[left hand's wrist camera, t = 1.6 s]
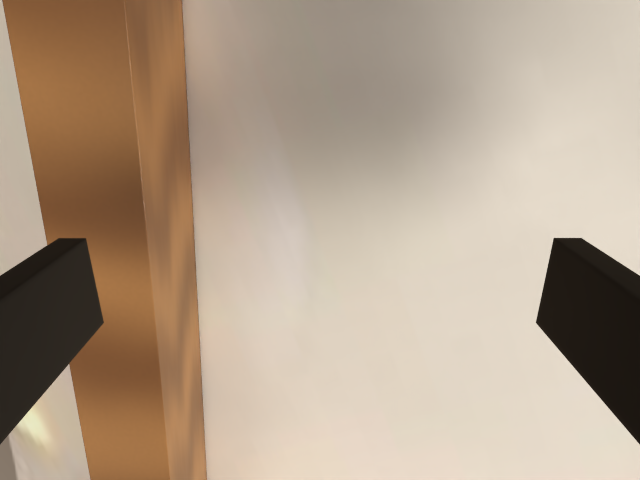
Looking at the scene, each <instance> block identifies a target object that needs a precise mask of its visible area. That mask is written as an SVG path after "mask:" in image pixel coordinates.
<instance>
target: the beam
mask: <svg viewBox="0 0 640 480" xmlns="http://www.w3.org/2000/svg"><path fill="white" fill-rule="evenodd" d="M2 1H3V6H4V12H5V17H6V22H7V28H8V33H9V39H10V44H11V50H12V55H13V60H14V66H15V71H16V77H17V82H18V88H19V93H20V99H21V104H22V109H23V115H24V120H25V126H26V131H27V137H28V142H29V147H30V153H31V158H32V164H33V169H34V175H35V180H36V185H37V191H38V196H39V202H40V207H41V213H42V218H43V223H44V229H45V234H46V240H47V245H49V244H50V243H52V242H54V241H55V240H57V239H58V238H86V240H87V245H88V250H89V254H90V259H91V264H92V268H93V273H94V278H95V283H96V287H97V292H98V297H99V302H100V306H101V311H102V316H103V321H104V323H103V324H102V326H101V327H100V328H99V329H98V330H97V331H96V333H95V334H94V335H93V336H92V337H91V338H90V340H89V341H88V342H87V343H86V344H85V346H84V347H83V348H82V349H81V350H80V351H79V353H78V354H77V355H76V356H75V357H74V358H73V360H72V361H71V362H70V363H69V365H70V370H71V376H72V381H73V386H74V392H75V397H76V403H77V408H78V414H79V419H80V424H81V430H82V435H83V441H84V446H85V452H86V457H87V462H88V468H89V473H90V479H91V480H207V476H206V457H205V438H204V419H203V399H202V380H201V361H200V342H199V323H198V304H197V285H196V265H195V246H194V227H193V208H192V189H191V170H190V151H189V131H188V112H187V93H186V74H185V55H184V36H183V17H182V0H2Z"/></svg>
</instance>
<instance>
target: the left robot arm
mask: <svg viewBox="0 0 640 480" xmlns="http://www.w3.org/2000/svg"><path fill="white" fill-rule="evenodd" d="M103 323H104V321H103V316H102V311H101V306H100V302H99V297H98V292H97V287H96V283H95V278H94V273H93V268H92V264H91V259H90V254H89V250H88V245H87V240H86V238H58V239H57V240H55V241H54V242H52V243H50V244H49V245H47V246H46V247H44V248H43V249H41V250H40V251H38V252H36V253H35V254H33V255H32V256H30V257H29V258H27V259H26V260H24V261H23V262H21V263H19V264H18V265H16V266H15V267H13V268H12V269H10V270H9V271H7V272H5V273H4V274H2V275H1V276H0V444H1V443H2V442H3V440H4V439H5V438H6V437H7V436H8V435H9V433H10V432H11V431H12V430H13V429H14V428H15V426H16V425H17V424H18V423H19V422H20V421H21V419H22V418H23V417H24V416H25V415H26V413H27V412H28V411H29V410H30V409H31V408H32V406H33V405H34V404H35V403H36V402H37V401H38V399H39V398H40V397H41V396H42V395H43V394H44V392H45V391H46V390H47V389H48V388H49V387H50V385H51V384H52V383H53V382H54V381H55V380H56V378H57V377H58V376H59V375H60V374H61V372H62V371H63V370H64V369H65V368H66V367H67V365H68V364H69V363H70V362H71V361H72V360H73V358H74V357H75V356H76V355H77V354H78V353H79V351H80V350H81V349H82V348H83V347H84V346H85V344H86V343H87V342H88V341H89V340H90V338H91V337H92V336H93V335H94V334H95V333H96V331H97V330H98V329H99V328H100V327H101V326H102V324H103ZM536 323H537V324H538V326H539V327H540V328H541V329H542V330H543V331H544V333H545V334H546V335H547V336H548V337H549V339H550V340H551V341H552V342H553V343H554V344H555V346H556V347H557V348H558V349H559V350H560V351H561V353H562V354H563V355H564V356H565V357H566V358H567V360H568V361H569V362H570V363H571V364H572V365H573V367H574V368H575V369H576V370H577V371H578V372H579V374H580V375H581V376H582V377H583V378H584V380H585V381H586V382H587V383H588V384H589V385H590V387H591V388H592V389H593V390H594V391H595V392H596V394H597V395H598V396H599V397H600V398H601V399H602V401H603V402H604V403H605V404H606V405H607V406H608V408H609V409H610V410H611V411H612V412H613V414H614V415H615V416H616V417H617V418H618V419H619V421H620V422H621V423H622V424H623V425H624V426H625V428H626V429H627V430H628V431H629V432H630V433H631V435H632V436H633V437H634V438H635V439H636V440H637V442H638V443H639V444H640V276H639V275H638V274H636V273H635V272H633V271H631V270H630V269H628V268H627V267H625V266H624V265H622V264H621V263H619V262H617V261H616V260H614V259H613V258H611V257H610V256H608V255H607V254H605V253H604V252H602V251H600V250H599V249H597V248H596V247H594V246H593V245H591V244H590V243H588V242H586V241H585V240H583V239H582V238H554V240H553V245H552V250H551V254H550V259H549V264H548V268H547V273H546V278H545V283H544V287H543V292H542V297H541V302H540V306H539V311H538V316H537V320H536Z"/></svg>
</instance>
